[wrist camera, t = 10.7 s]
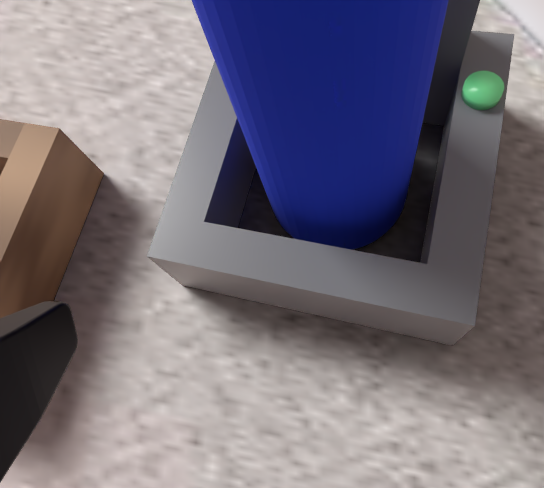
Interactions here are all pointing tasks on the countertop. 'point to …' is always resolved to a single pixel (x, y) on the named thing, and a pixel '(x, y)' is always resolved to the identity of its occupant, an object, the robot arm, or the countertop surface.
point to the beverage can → (328, 104)
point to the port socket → (339, 261)
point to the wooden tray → (39, 210)
